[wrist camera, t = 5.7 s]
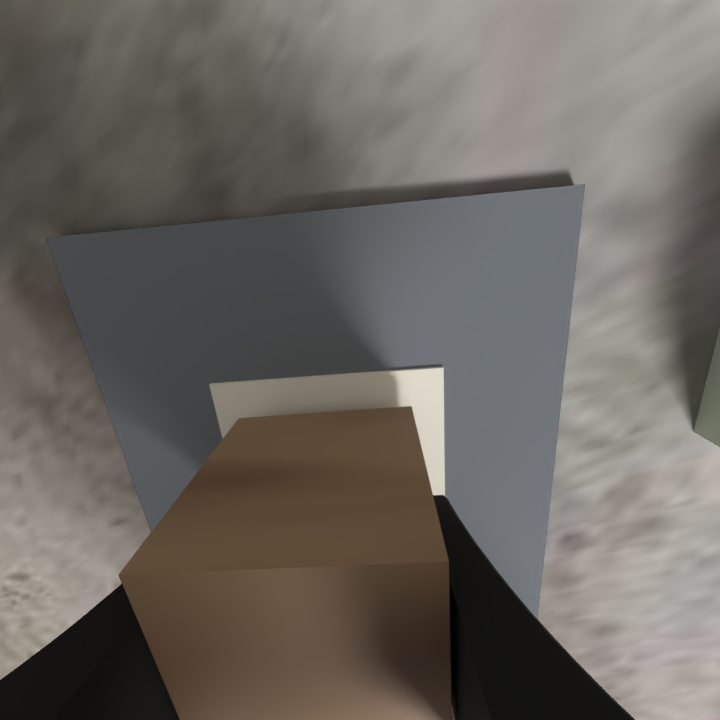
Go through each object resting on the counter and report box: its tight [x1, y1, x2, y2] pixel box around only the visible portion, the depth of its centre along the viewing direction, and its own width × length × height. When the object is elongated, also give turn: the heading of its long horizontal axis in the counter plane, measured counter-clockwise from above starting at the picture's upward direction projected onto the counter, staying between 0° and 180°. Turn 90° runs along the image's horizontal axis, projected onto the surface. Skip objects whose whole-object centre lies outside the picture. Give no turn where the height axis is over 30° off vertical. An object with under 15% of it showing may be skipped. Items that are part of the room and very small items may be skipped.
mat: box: [46, 184, 585, 618], centre depth 12 cm, size 20×14×1 cm
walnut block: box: [119, 406, 452, 720], centre depth 8 cm, size 5×5×5 cm
